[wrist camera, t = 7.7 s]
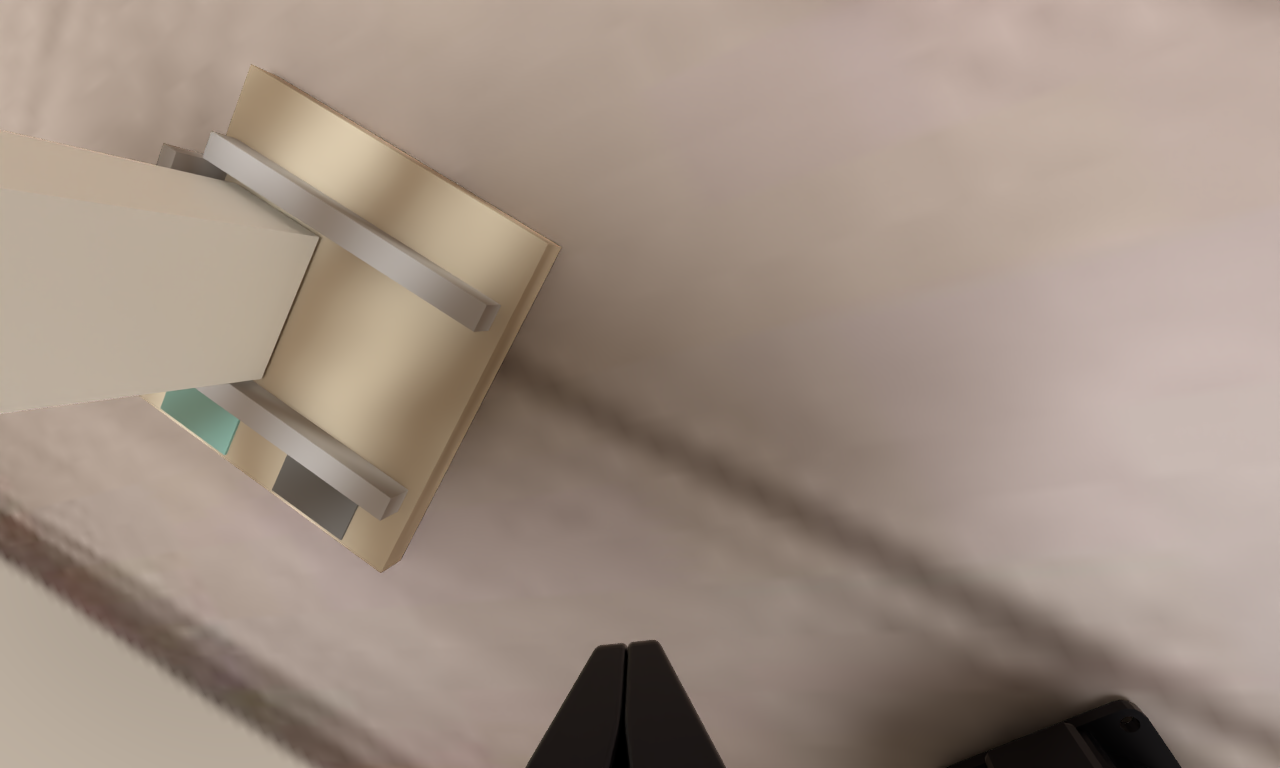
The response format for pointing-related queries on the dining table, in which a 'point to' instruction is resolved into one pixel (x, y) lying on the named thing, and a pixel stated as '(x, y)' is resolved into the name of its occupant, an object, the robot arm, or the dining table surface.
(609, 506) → the dining table surface
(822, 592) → the dining table surface
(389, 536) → the switch base
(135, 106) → the dining table surface
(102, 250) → the white rectangular tower
